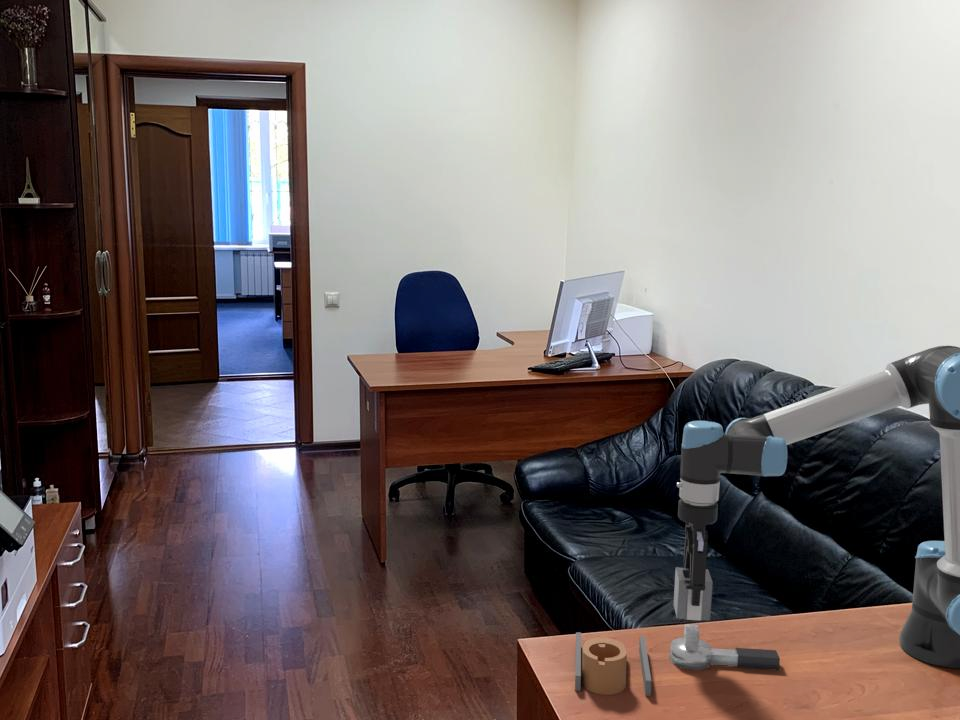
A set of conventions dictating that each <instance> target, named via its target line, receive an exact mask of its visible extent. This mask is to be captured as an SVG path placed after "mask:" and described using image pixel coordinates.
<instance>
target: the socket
mask: <svg viewBox="0 0 960 720" xmlns="http://www.w3.org/2000/svg"><path fill="white" fill-rule="evenodd" d="M713 583H714V582H713V580H712V576H711V574H710V571H709V569H707V568H706V575H705V590H704V591H703V596H702V612H701V621H708V622H709V621H711V614H712V613H711V610H712V598H713ZM689 585H690V568H684V567H678V566H676V567H675V574H674V590H673V609H674V612H675V616H676V619H679V620H687V618H686V616H687V600H688V589H686V586H689Z"/></svg>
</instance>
